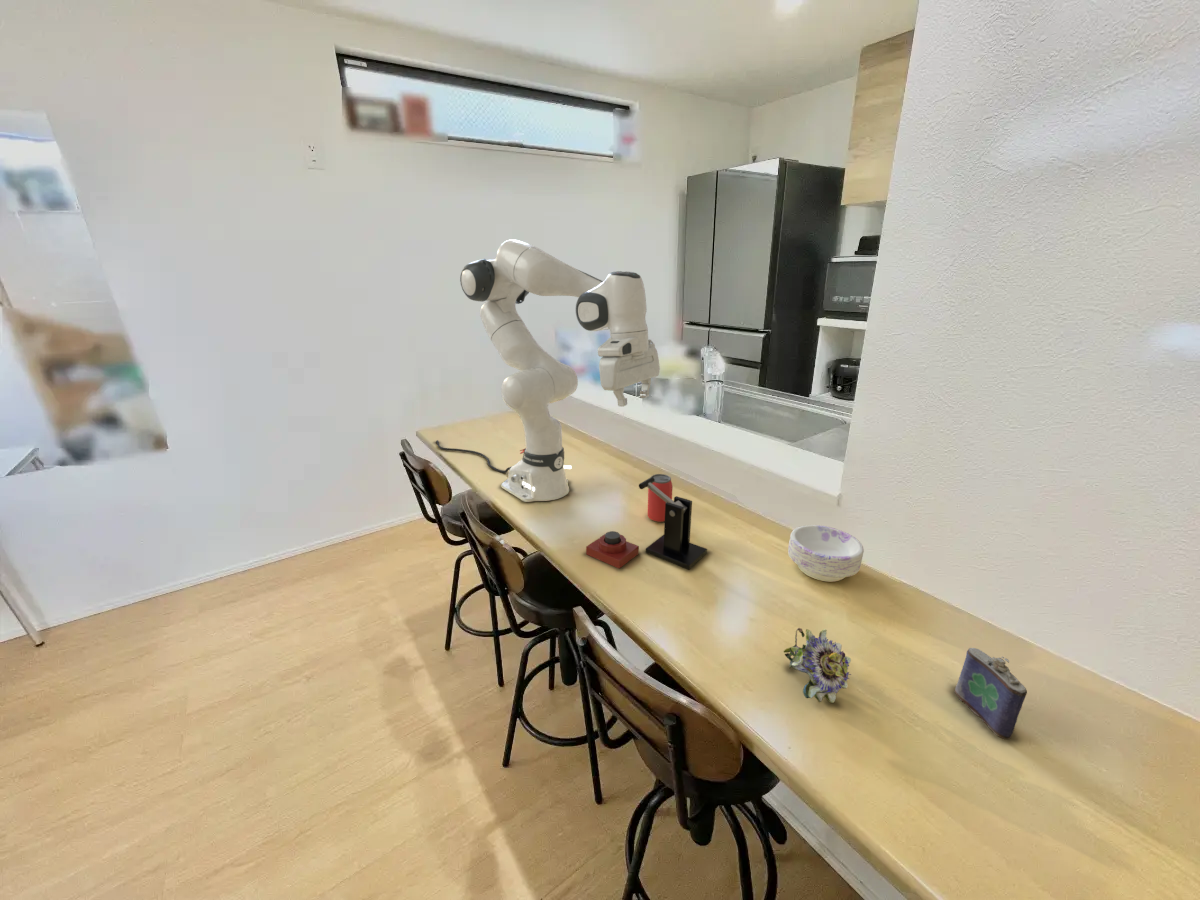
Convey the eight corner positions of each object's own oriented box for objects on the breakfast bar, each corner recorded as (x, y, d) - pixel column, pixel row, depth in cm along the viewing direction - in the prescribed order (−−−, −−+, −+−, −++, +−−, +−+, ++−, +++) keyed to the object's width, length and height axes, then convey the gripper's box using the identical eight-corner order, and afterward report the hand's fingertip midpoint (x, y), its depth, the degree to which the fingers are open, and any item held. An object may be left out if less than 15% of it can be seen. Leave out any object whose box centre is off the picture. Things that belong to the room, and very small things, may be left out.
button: (602, 541, 119) (601, 535, 118) (611, 535, 121) (611, 529, 121) (613, 546, 116) (613, 540, 116) (622, 540, 119) (622, 534, 118)
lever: (636, 488, 119) (640, 481, 118) (648, 481, 123) (652, 474, 121) (675, 520, 114) (679, 513, 113) (686, 512, 118) (690, 505, 117)
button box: (586, 554, 120) (586, 540, 119) (606, 540, 126) (606, 527, 125) (619, 568, 114) (619, 553, 113) (638, 553, 120) (639, 539, 119)
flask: (950, 690, 81) (967, 638, 77) (966, 688, 81) (983, 636, 77) (1000, 741, 72) (1022, 685, 68) (1018, 738, 73) (1040, 682, 69)
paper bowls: (853, 558, 117) (859, 529, 115) (862, 596, 104) (869, 564, 101) (785, 547, 122) (789, 519, 119) (786, 582, 109) (790, 551, 106)
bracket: (645, 552, 121) (646, 501, 116) (664, 537, 127) (666, 489, 122) (688, 569, 114) (692, 516, 109) (706, 553, 120) (710, 502, 115)
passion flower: (823, 723, 81) (822, 709, 73) (768, 675, 88) (760, 657, 80) (863, 670, 84) (866, 650, 75) (805, 627, 91) (802, 604, 82)
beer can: (670, 524, 134) (672, 483, 130) (646, 521, 135) (647, 481, 131) (671, 512, 140) (673, 474, 136) (648, 510, 141) (649, 472, 137)
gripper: (642, 338, 125) (646, 392, 129) (592, 350, 110) (598, 410, 114) (664, 338, 121) (667, 393, 125) (615, 349, 106) (620, 412, 110)
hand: (634, 401), depth 120 cm, fingers open, 8 cm apart
